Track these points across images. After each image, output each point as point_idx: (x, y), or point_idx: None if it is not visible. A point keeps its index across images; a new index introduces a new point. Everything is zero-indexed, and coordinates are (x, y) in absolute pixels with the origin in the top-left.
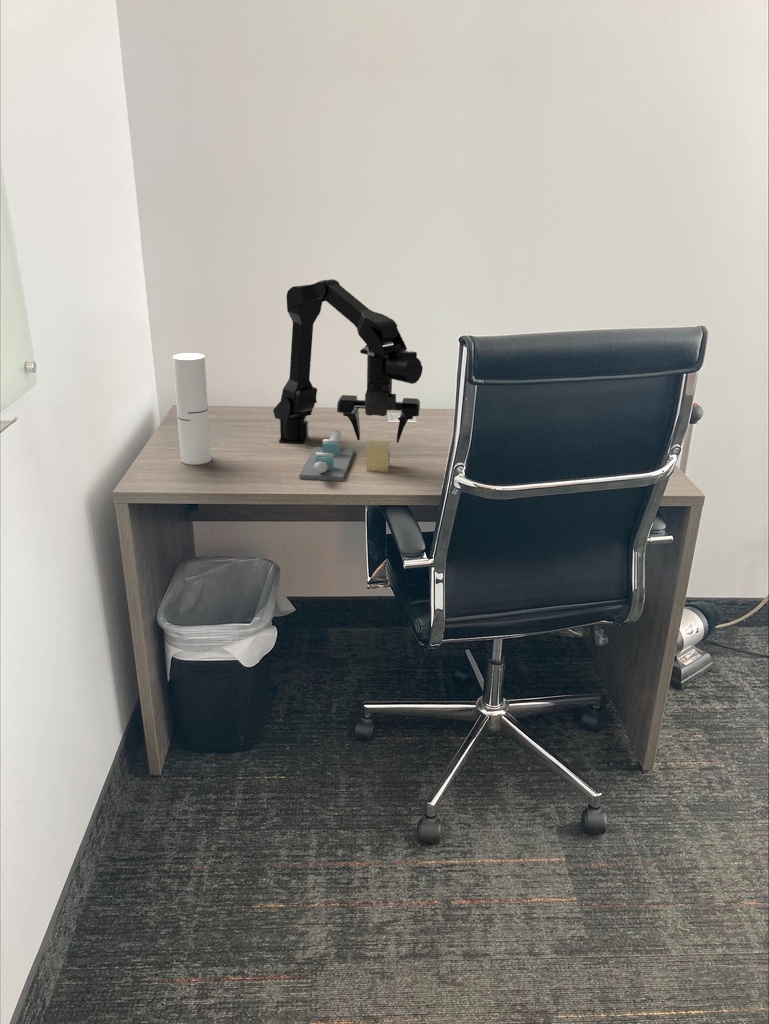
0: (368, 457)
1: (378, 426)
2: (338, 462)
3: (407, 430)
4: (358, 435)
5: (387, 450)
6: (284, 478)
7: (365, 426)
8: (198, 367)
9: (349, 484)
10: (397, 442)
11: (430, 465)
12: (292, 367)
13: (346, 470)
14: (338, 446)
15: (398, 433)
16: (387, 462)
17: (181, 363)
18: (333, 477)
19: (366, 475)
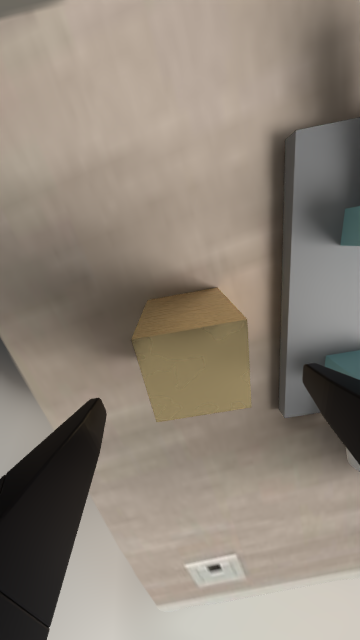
0: (222, 302)
1: (249, 536)
2: (324, 301)
3: (188, 536)
4: (332, 377)
5: (136, 332)
6: None
7: (274, 531)
8: None
9: (251, 104)
10: (96, 398)
11: (51, 390)
12: None
13: (285, 253)
14: (355, 376)
15: (56, 442)
16: (144, 311)
17: None
18: (335, 123)
19: (207, 244)
